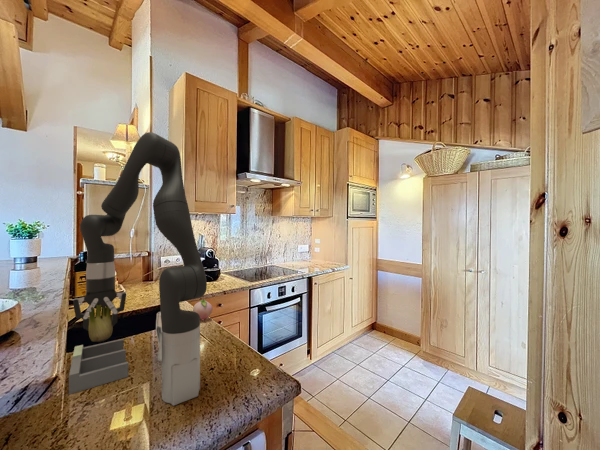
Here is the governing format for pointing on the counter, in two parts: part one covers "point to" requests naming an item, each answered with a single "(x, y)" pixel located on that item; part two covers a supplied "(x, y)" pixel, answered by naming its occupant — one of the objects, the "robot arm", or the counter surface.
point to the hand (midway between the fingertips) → (100, 327)
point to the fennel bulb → (100, 324)
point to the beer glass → (159, 335)
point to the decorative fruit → (203, 309)
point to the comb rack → (97, 365)
